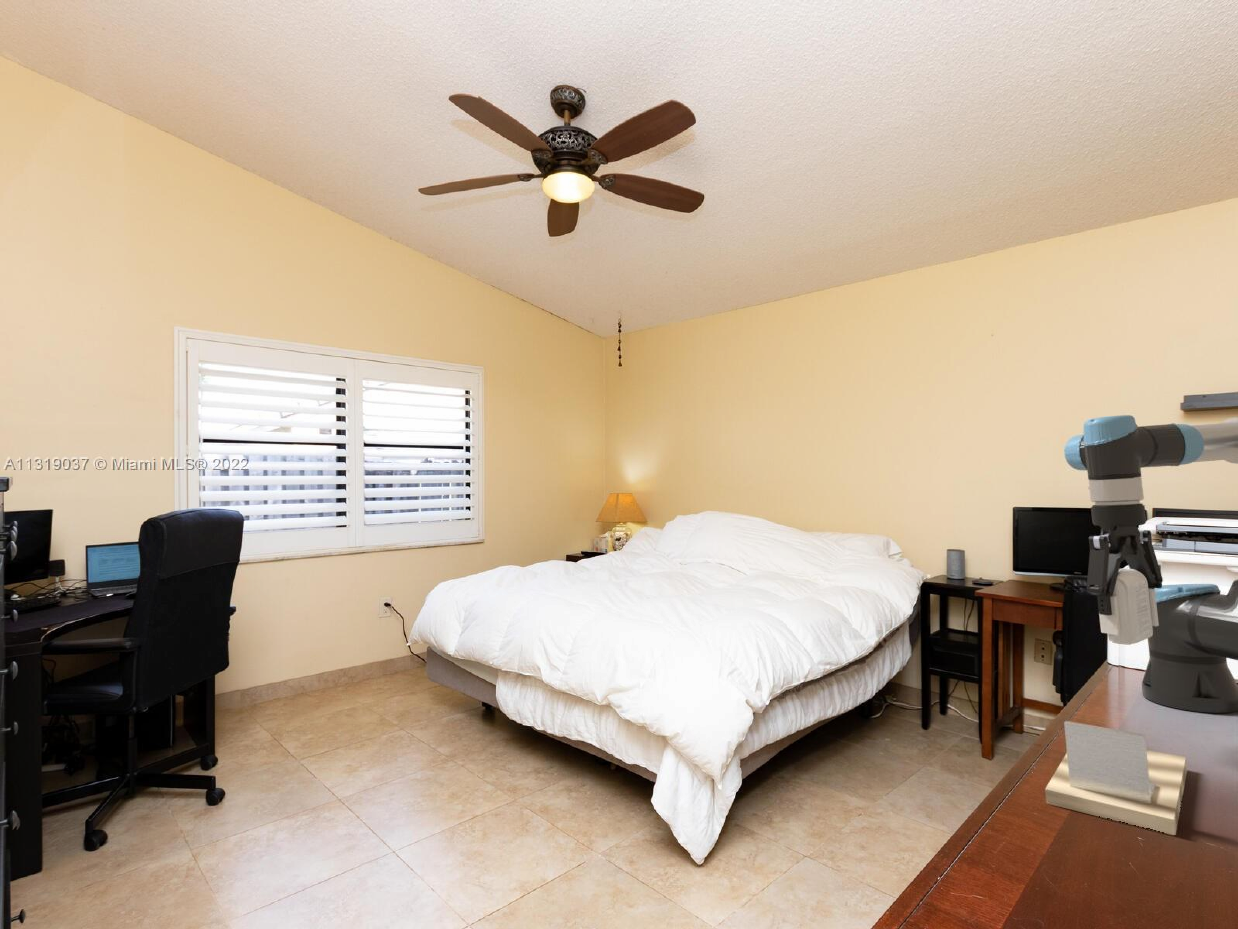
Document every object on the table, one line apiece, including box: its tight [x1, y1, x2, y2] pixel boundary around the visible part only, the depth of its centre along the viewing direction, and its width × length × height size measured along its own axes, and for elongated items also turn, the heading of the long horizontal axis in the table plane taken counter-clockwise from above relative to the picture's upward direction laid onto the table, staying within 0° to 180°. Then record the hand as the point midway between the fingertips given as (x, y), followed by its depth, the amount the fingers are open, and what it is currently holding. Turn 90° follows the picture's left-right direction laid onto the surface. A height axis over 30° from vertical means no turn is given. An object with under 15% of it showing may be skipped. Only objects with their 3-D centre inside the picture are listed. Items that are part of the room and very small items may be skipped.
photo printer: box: [1106, 568, 1153, 646], centre depth 112 cm, size 10×4×12 cm, turn 124°
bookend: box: [1063, 720, 1156, 805], centre depth 91 cm, size 7×9×9 cm
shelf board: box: [1044, 749, 1188, 836], centre depth 95 cm, size 24×14×2 cm, turn 135°
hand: (1130, 629), depth 111 cm, fingers closed on photo printer, 10 cm apart
